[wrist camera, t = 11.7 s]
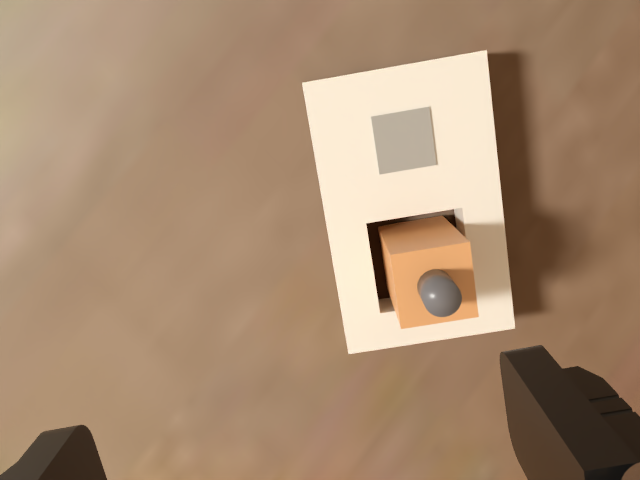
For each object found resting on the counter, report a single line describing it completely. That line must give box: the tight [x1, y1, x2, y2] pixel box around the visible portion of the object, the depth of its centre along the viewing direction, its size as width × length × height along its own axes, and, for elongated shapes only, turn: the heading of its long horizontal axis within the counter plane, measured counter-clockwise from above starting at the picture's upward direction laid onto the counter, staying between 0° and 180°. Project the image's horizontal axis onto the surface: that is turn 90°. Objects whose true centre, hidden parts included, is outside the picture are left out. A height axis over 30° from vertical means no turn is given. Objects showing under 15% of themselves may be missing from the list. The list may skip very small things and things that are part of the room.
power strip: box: [302, 50, 515, 354], centre depth 35 cm, size 16×10×3 cm, turn 10°
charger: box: [378, 216, 479, 329], centre depth 32 cm, size 4×4×9 cm
